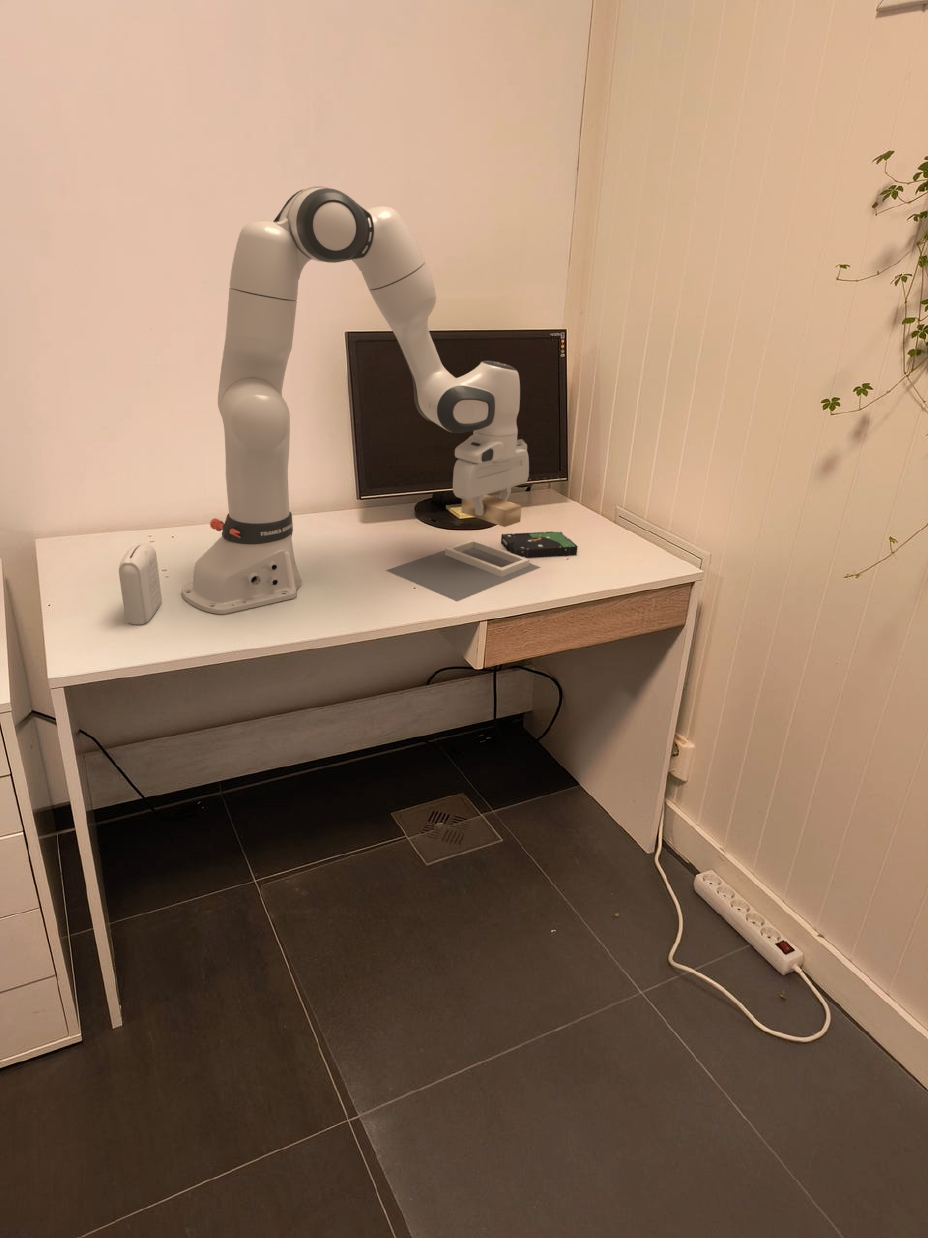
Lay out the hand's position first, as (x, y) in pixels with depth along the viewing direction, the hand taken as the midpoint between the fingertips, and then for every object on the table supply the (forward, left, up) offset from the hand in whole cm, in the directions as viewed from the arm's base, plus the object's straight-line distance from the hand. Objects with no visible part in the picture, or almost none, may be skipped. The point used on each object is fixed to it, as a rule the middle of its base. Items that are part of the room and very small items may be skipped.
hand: (490, 511), depth 168 cm
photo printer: (-65, +24, -12) cm, 70 cm away
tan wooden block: (0, 0, -1) cm, 1 cm away
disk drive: (+15, -2, -12) cm, 20 cm away
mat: (-7, 0, -12) cm, 13 cm away
